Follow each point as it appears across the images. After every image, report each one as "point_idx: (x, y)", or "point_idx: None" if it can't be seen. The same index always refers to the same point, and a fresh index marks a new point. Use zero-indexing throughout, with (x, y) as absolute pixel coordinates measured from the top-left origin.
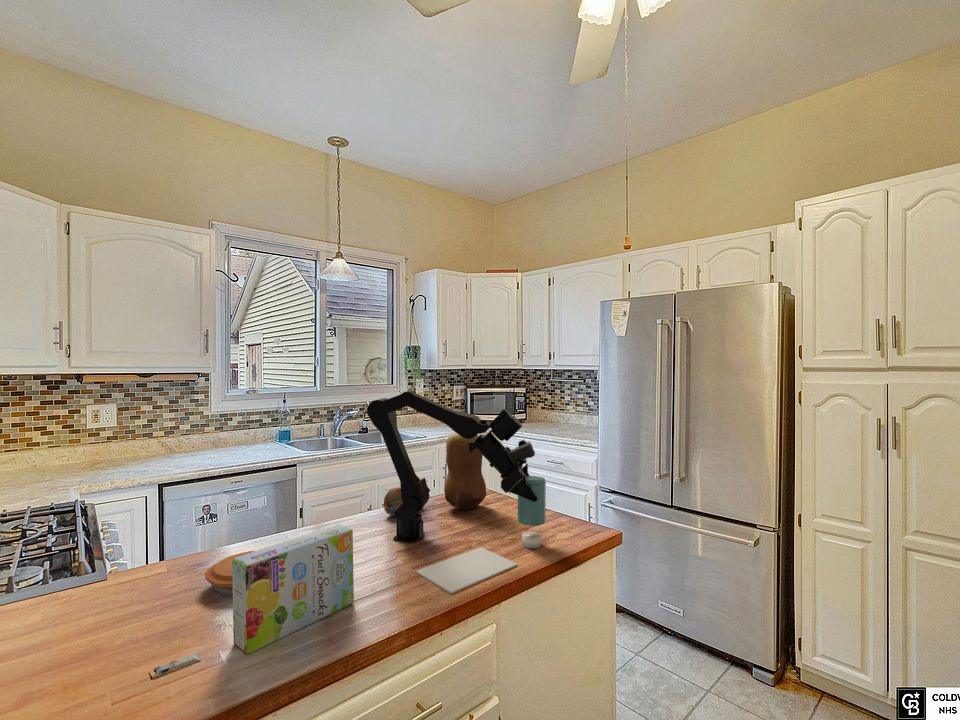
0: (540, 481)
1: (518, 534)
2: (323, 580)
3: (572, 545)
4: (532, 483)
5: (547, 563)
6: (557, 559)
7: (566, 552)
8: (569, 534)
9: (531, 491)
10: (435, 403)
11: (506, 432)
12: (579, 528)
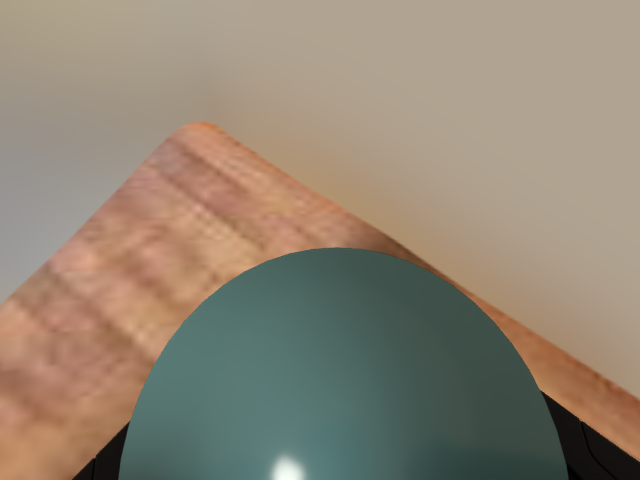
0: (426, 303)
1: None
2: None
3: (307, 222)
4: (549, 419)
5: (457, 286)
6: (419, 260)
7: (362, 237)
8: (220, 234)
9: (549, 400)
10: None
11: None
12: (165, 206)
